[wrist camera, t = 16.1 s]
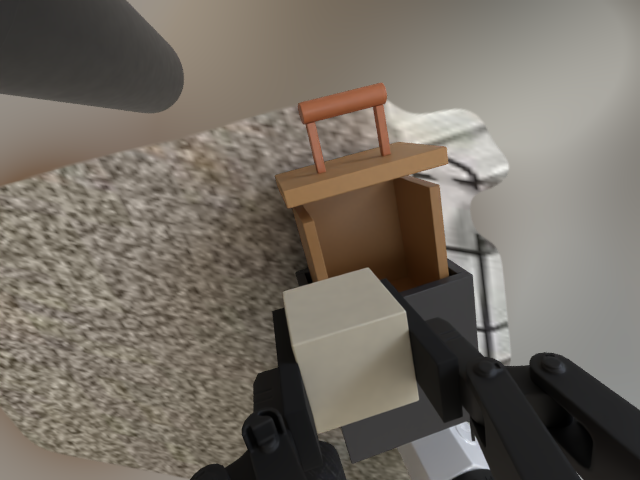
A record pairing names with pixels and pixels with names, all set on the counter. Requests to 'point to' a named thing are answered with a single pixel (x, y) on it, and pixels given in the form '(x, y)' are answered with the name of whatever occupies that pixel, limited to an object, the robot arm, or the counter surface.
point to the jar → (446, 456)
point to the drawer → (368, 201)
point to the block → (350, 348)
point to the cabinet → (418, 417)
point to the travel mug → (327, 465)
